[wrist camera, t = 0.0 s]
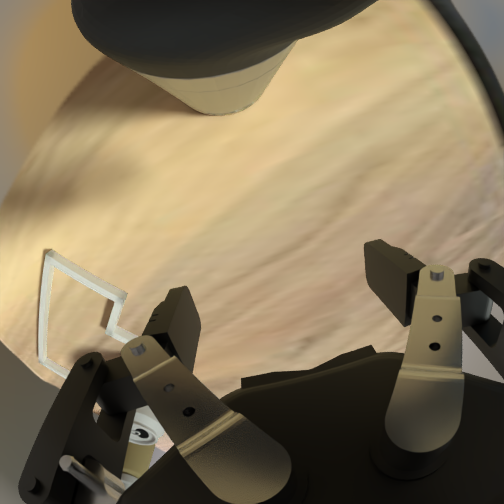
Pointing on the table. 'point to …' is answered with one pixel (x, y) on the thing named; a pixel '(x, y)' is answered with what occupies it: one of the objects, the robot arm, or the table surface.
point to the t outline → (88, 280)
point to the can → (145, 427)
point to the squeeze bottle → (136, 462)
